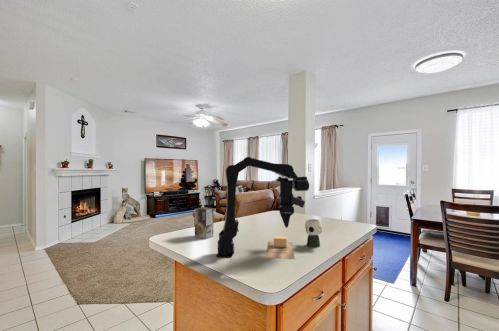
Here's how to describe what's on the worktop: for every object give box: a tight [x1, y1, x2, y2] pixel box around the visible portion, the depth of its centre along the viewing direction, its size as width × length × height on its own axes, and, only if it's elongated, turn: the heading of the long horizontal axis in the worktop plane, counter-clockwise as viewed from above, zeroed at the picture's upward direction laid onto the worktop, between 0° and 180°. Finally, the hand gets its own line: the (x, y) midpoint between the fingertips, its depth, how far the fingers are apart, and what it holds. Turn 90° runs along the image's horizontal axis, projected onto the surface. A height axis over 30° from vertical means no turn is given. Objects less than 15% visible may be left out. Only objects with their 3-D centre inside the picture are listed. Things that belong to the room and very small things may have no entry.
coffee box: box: [194, 206, 214, 240], centre depth 129 cm, size 9×6×16 cm
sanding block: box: [273, 235, 288, 247], centre depth 109 cm, size 6×4×4 cm, turn 82°
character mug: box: [304, 218, 323, 248], centre depth 110 cm, size 11×7×13 cm, turn 30°
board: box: [265, 241, 296, 260], centre depth 104 cm, size 12×22×1 cm, turn 172°
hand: (286, 224), depth 105 cm, fingers open, 9 cm apart
